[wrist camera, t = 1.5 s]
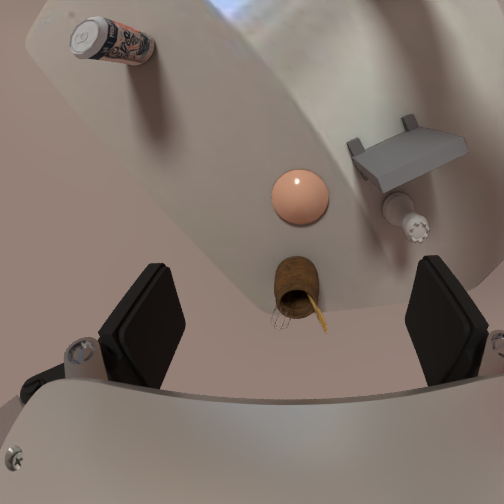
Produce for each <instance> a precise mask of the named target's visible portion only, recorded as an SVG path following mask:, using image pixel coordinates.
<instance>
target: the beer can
mask: <svg viewBox="0 0 504 504" xmlns="http://www.w3.org/2000/svg"><path fill="white" fill-rule="evenodd" d="M69 48H70V49H71V51H72V53H73V54H74V55H75V56H76V57H77V58H79V59H95V60H104V61H111V62H118V63H124V64H129V65H132V66H137V65H140V64H142V63H144V62H146V61H147V60H148V59H149V58H150V56H151V55H152V53H153V50H154V40H153V38H152V37H151V36H150V35H149V34H147V33H144V32H142V31H139V30H136V29H134V28H131V27H129V26H126V25H123V24H120V23H117V22H115V21H112V20H109V19H105V18H102V17H92V18H89V19H85V20H84V21H82V22H81V23H79V24H78V25H77V26H76V27H75V29H74V30H73V32H72V34H71V35H70V40H69Z"/></svg>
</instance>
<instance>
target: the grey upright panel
mask: <svg viewBox="0 0 504 504" xmlns="http://www.w3.org/2000/svg"><path fill="white" fill-rule="evenodd" d="M401 119H402V121H403V124H404V126H405V128H406V131H405V132H403V133H400V134H398V135H396V136H394V137H391V138H389V139H387V140H385V141H383V142H380V143H378V144H376V145H374V146H372V147H370V148H367V149H365V150H364V148H363V146H362V144H361V141H360V139H359V138H355V139H353V140H351V141H349V142H347V145H348V147H349V149H350V151H351V153H352V155H353V156H351V157H352V159H353V162H354V164H355V166H356V167H357V168H358V169H359V170H360V172H361V174H362V176H363V179H364V180H365V181H366V180H368V179H369V180H370V181H371V182H373V183H374V184H375V185H376V186H377V187H378V188H379V189H380V190H381V191H382V192H383V193H385V192H387V191H389V190H391V189H394V188H396V187H398V186H400V185H402V184H404V183H406V182H408V181H410V180H412V179H415V178H417V177H419V176H421V175H423V174H425V173H427V172H429V171H431V170H433V169H435V168H438V167H440V166H442V165H444V164H446V163H448V162H450V161H452V160H454V159H456V158H458V157H461V156H463V155H465V154H467V153H468V149H467V146H466V142H465V139H464V138H463V137H460V136H456V135H453V134H449V133H445V132H441V131H437V130H433V129H428V128H424V127H419V126H418V124H417V121H416V119H415V116H414V114H409V115H407V116H404V117H402V118H401Z"/></svg>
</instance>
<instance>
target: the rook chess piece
mask: <svg viewBox="0 0 504 504" xmlns="http://www.w3.org/2000/svg"><path fill="white" fill-rule="evenodd" d="M382 211H383V215H384V217H385V219H386V220H387V221H388V222H389V223H390V224H392V225H394V226H398V227H402V230H403V232H404V235H405V237H406V239H407V240H409V241H410V242H415V243H416V242H419V243H421V242H423V240H422V239H423V238H426V239H427V237H428V236H429V235H428V234H427V233H428V231H430V230H429V224H428V221H427V219H426V218H425V217H423V216H420V215H419V214H418V213H415V207H414V203H413V202H412V200H411V199H410V198H409V196H408V195H406V194H404V193H402V192H396V193H393V194H391V195H390V196H388V197H387V198H386V200H385V202H384V204H383V209H382Z"/></svg>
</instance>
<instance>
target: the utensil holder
mask: <svg viewBox="0 0 504 504" xmlns="http://www.w3.org/2000/svg"><path fill="white" fill-rule="evenodd" d="M274 294H275V297H276V306H277V308H278V310H279V313H280V312H281V313H282V314H283V315H284V316H285V317H289V318H290V319H291V318H294V319H299V318H304V317H307V316H309V315H310V314H311V313H313V312H314V310H315V311H316V314H317V318H318V320H319V322H320V324H321V326H322V327H323V329H324V331H325V333H326V334H327V331H326V330H327V327H326V326H327V324H326V321H325V319H324V317H323V315H322V313H321V311H320V309H319V308H317V302H318V295H319V281H318V274H317V270H316V268H315V266H314V264H313V263H312V262H311V261H310V260H308V259H306V258H304V257H299V256H294V257H290V258H287V259H285V260H284V261H282V262H281V263H280V264H279V266H278V268H277V270H276V274H275V283H274ZM274 310H276V309H274ZM273 313H274V311H273ZM278 315H279V314H278ZM272 316H273V314H272ZM277 318H278V317H277ZM284 320H285V318H284ZM284 320H283V321H284ZM274 324H275V323H274ZM276 326H277V325H276ZM274 327H275V326H274ZM277 327H279V326H277ZM282 327H283V326H282ZM281 329H282V328H281Z"/></svg>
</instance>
